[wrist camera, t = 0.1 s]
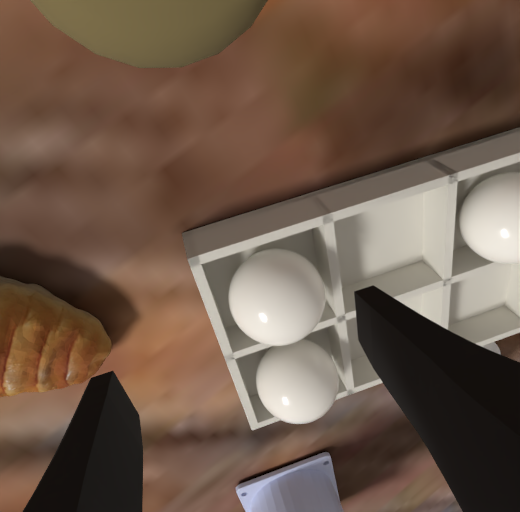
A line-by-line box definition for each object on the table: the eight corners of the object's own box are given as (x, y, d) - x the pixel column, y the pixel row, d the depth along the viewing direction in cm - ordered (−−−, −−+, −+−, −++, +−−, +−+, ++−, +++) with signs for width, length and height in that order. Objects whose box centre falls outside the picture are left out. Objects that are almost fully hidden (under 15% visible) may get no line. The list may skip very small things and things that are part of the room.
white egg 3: (510, 222, 26) (578, 264, 22) (439, 247, 25) (495, 293, 21) (521, 148, 23) (601, 180, 19) (442, 174, 23) (507, 212, 19)
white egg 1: (311, 289, 24) (346, 346, 21) (233, 316, 24) (252, 379, 20) (298, 219, 22) (335, 269, 18) (210, 248, 21) (228, 305, 17)
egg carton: (506, 304, 30) (533, 327, 28) (243, 399, 28) (251, 430, 26) (536, 121, 23) (576, 134, 21) (182, 233, 21) (187, 258, 19)
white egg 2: (324, 363, 28) (356, 423, 24) (256, 387, 28) (277, 453, 24) (315, 311, 25) (349, 369, 21) (239, 337, 25) (260, 401, 21)
